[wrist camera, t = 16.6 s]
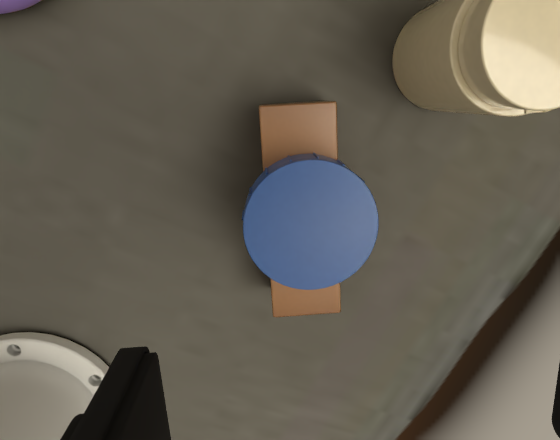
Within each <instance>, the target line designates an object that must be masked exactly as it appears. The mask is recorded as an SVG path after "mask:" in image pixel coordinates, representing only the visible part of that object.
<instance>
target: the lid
mask: <svg viewBox="0 0 560 440" xmlns="http://www.w3.org/2000/svg"><path fill="white" fill-rule="evenodd" d="M242 220H243V235H244V240H245V245H246V247H247V250H248V252H249V254H250V256H251V258H252V260H253V261H254V263H255V264H256V266H257V267H258V268H259V269H260V270H261V271H262V272H263V273H264V274H265V275H267V276H268V277H269V278H271V279H272V280H274V281H276V282H278V283H280V284H282V285H284V286H288V287H291V288H295V289H303V290H315V289H322V288H326V287H330V286H333V285H335V284H338V283H340V282H342V281H344V280H345V279H347V278H349V277H350V276H351V275H353V274H354V273H355V272H356V271H357V270H358V269H359V268H360V267H361V266H362V265H363V264H364V262H365V261H366V260H367V258H368V257H369V255H370V253H371V251H372V249H373V247H374V245H375V241H376V238H377V233H378V211H377V207H376V203H375V201H374V198H373V196H372V194H371V192H370V190H369V189H368V187H367V186H366V185H365V183H364V180H362V179H361V178H360V177H359V176H357V175H356V174H355V173H353V172H352V171H351V170H350V169H348V168H347V167H346V166H345V165H344V164H343V163H342V162H341V161H339V160H338V159H337V161H336V160H334V159H332V158H329V157H327V156H323V155H318V154H316V153H314V152H313V154H298V155H293V156H290V155H288V157H286V158H284V159H281V160H279V161H277V162H276V163H274V164H272V165H271V166H269V167H268V168H267V167H266V168H265V171H263V173H262V174H261V175H260V176H259V177H258V178H257V179H256V181H255V182H254V184H253V186H252V187H250V188H249V194H248V197H247V200H246V204H245V210H243V214H242Z"/></svg>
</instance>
